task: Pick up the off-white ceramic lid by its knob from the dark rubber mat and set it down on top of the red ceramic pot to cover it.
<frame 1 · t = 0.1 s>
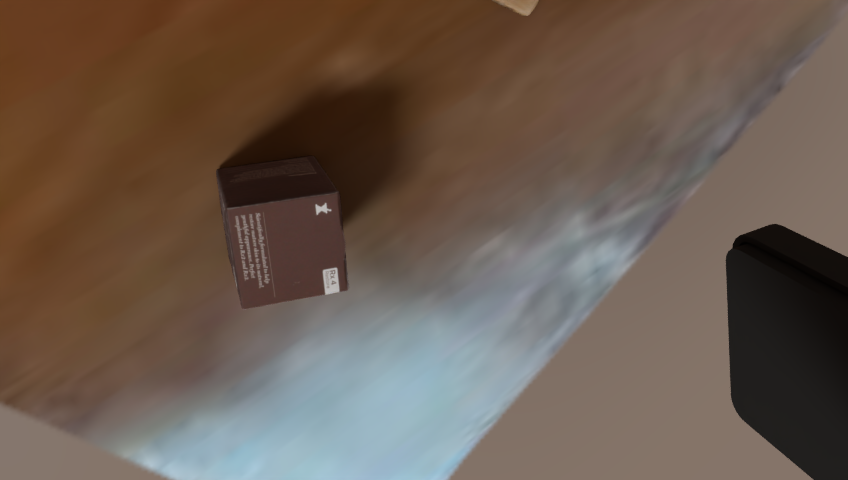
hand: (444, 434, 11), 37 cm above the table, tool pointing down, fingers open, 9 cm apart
box: (271, 206, 48), on the table
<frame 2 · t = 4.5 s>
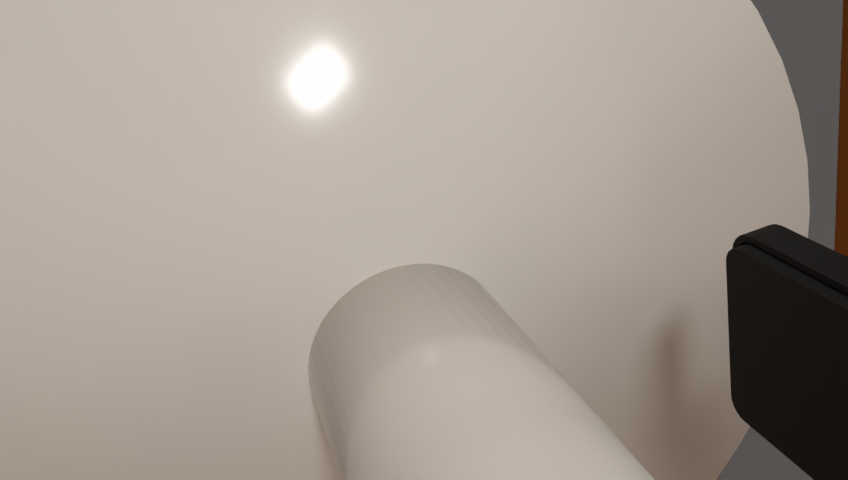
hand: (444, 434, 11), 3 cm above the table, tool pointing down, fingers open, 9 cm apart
mat: (386, 317, 13), on the table
lid: (392, 327, 13), resting on mat
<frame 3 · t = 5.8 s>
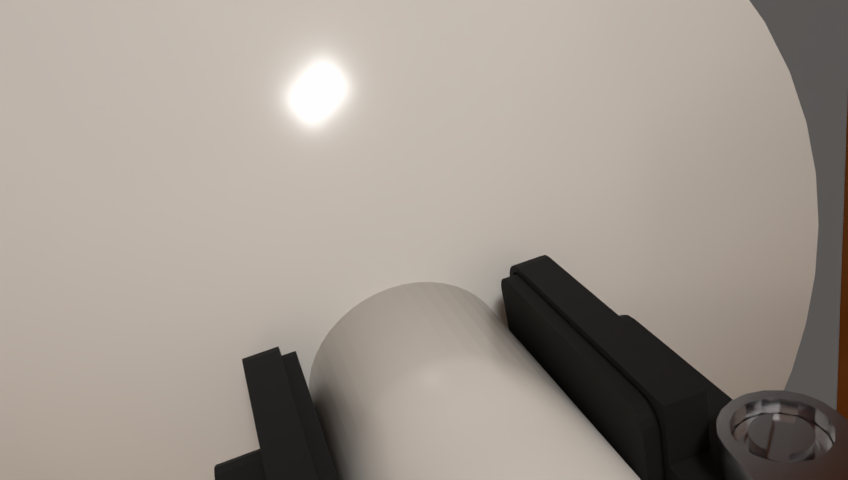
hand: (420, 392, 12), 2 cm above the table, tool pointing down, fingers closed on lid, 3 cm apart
mat: (387, 335, 13), on the table
lid: (394, 346, 13), resting on mat, touching gripper
when the fingers open (14 cm above the table, at t = 11.0 s): lid stays where it is, resting on plant pot.
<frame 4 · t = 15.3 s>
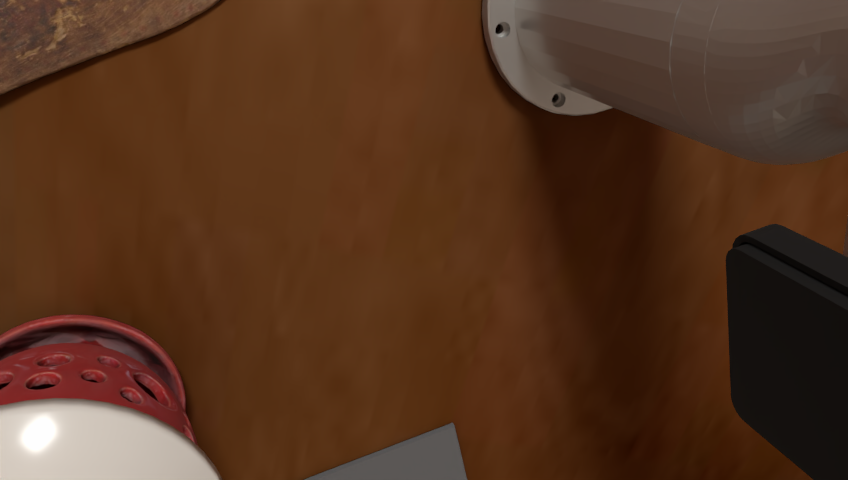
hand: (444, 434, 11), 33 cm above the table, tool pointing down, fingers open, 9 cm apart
plant pot: (74, 398, 44), on the table, touching lid
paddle: (10, 21, 37), on the table
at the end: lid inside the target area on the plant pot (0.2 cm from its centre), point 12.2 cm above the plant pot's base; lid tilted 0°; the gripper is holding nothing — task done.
